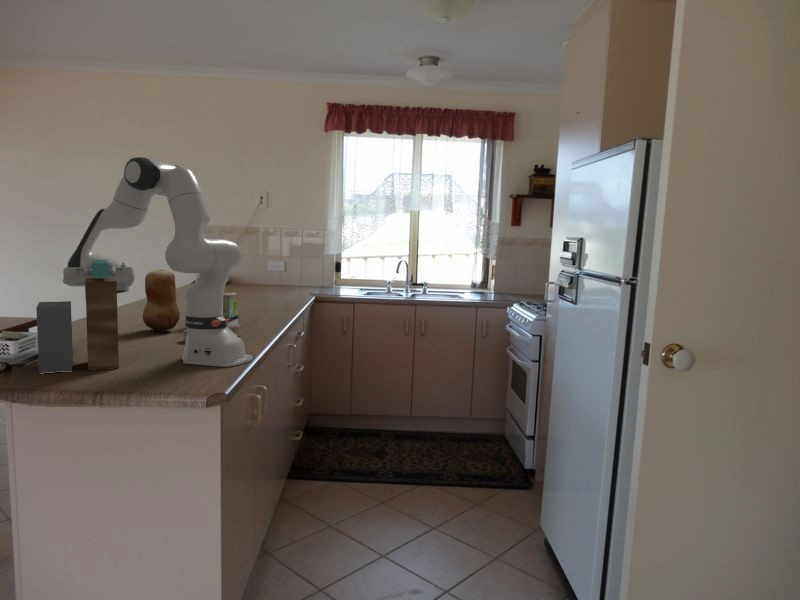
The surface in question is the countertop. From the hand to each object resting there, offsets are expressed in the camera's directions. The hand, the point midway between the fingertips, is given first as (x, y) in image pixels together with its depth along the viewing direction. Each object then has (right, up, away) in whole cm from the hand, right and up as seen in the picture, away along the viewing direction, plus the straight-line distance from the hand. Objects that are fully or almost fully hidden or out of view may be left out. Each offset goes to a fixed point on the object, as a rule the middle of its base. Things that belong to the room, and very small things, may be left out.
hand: (99, 265), depth 176 cm
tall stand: (+4, -31, -5) cm, 31 cm away
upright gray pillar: (-7, -31, -11) cm, 34 cm away
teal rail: (+3, -3, -5) cm, 7 cm away
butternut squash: (-2, -24, +51) cm, 57 cm away
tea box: (+16, -23, +65) cm, 71 cm away
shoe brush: (+22, -26, +41) cm, 53 cm away
